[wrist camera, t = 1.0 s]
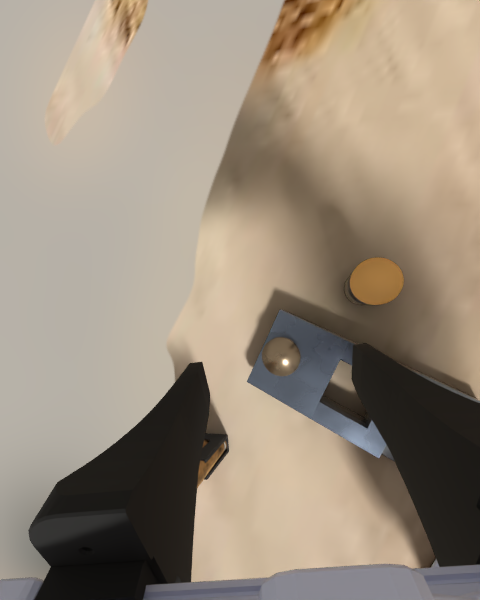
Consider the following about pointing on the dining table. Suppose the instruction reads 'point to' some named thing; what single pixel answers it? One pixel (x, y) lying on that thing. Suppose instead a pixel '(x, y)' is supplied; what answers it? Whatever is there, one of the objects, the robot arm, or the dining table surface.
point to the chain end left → (310, 376)
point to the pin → (374, 282)
